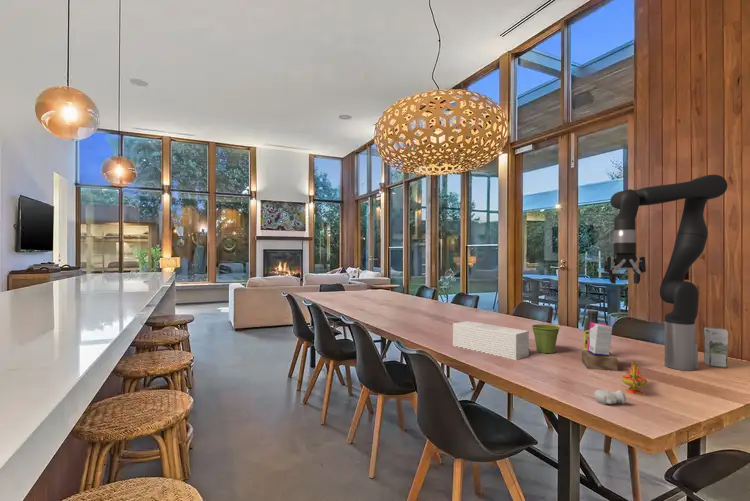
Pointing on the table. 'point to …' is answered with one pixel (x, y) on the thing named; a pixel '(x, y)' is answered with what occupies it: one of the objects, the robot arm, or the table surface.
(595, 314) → the sauce bottle
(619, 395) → the smooth white sculpture
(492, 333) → the white textured block
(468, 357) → the table surface
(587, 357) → the block
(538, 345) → the plant pot
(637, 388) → the magic lamp
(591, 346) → the supplement box
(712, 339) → the syrup box
